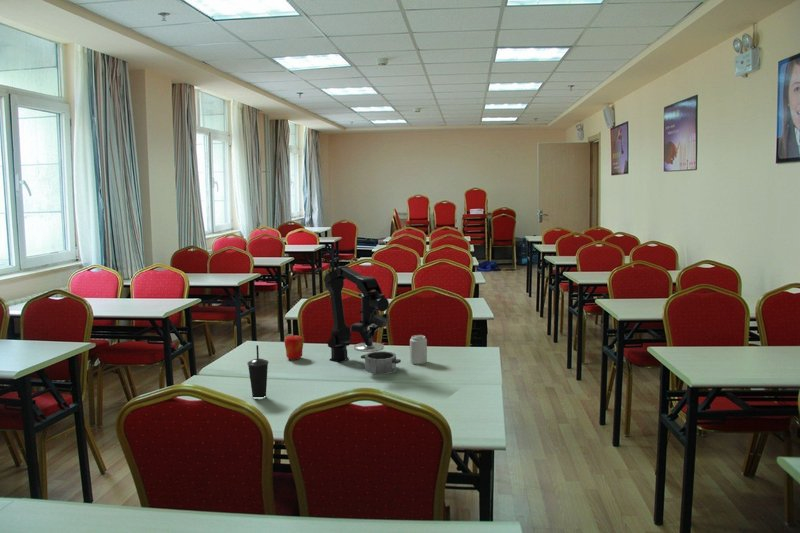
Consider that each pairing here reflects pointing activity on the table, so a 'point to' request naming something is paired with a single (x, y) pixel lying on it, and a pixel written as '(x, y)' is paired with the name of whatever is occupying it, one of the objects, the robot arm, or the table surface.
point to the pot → (380, 362)
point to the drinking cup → (258, 375)
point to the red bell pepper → (293, 346)
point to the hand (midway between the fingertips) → (369, 344)
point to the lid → (369, 346)
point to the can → (418, 349)
